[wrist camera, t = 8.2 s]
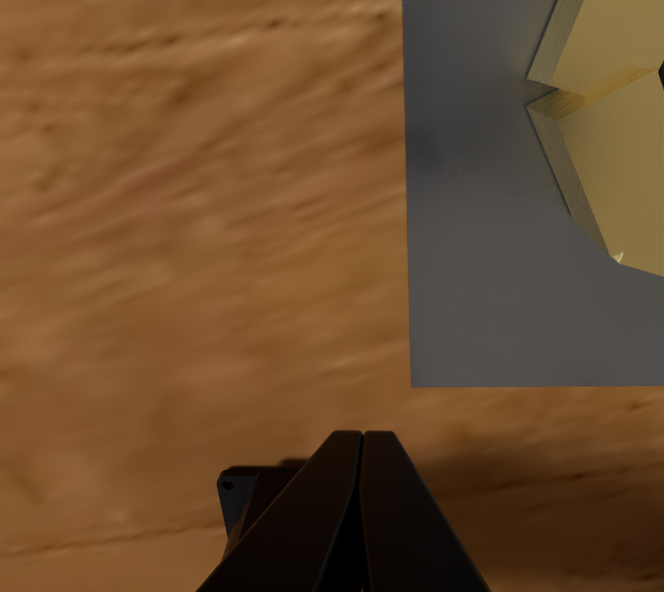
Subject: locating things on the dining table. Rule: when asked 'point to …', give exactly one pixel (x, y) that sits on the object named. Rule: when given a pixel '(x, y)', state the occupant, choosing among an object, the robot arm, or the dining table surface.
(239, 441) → the dining table surface
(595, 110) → the wooden ring wrench
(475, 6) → the steel plate
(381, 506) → the robot arm
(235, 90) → the dining table surface
